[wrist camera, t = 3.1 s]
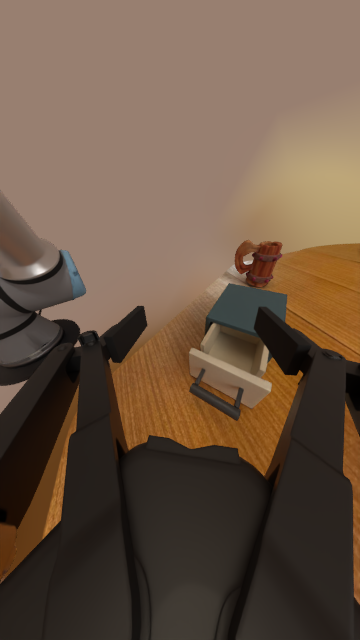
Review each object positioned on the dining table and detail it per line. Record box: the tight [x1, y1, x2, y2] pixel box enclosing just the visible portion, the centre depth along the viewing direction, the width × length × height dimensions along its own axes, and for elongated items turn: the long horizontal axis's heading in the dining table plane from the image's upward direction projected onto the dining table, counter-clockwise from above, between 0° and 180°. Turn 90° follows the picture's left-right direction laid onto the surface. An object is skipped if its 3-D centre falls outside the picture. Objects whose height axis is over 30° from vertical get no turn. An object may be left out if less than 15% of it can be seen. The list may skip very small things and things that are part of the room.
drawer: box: [189, 323, 272, 421], centre depth 24 cm, size 18×12×8 cm, turn 148°
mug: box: [235, 240, 282, 287], centre depth 48 cm, size 15×8×15 cm, turn 72°
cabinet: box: [205, 283, 287, 363], centre depth 31 cm, size 15×13×10 cm
